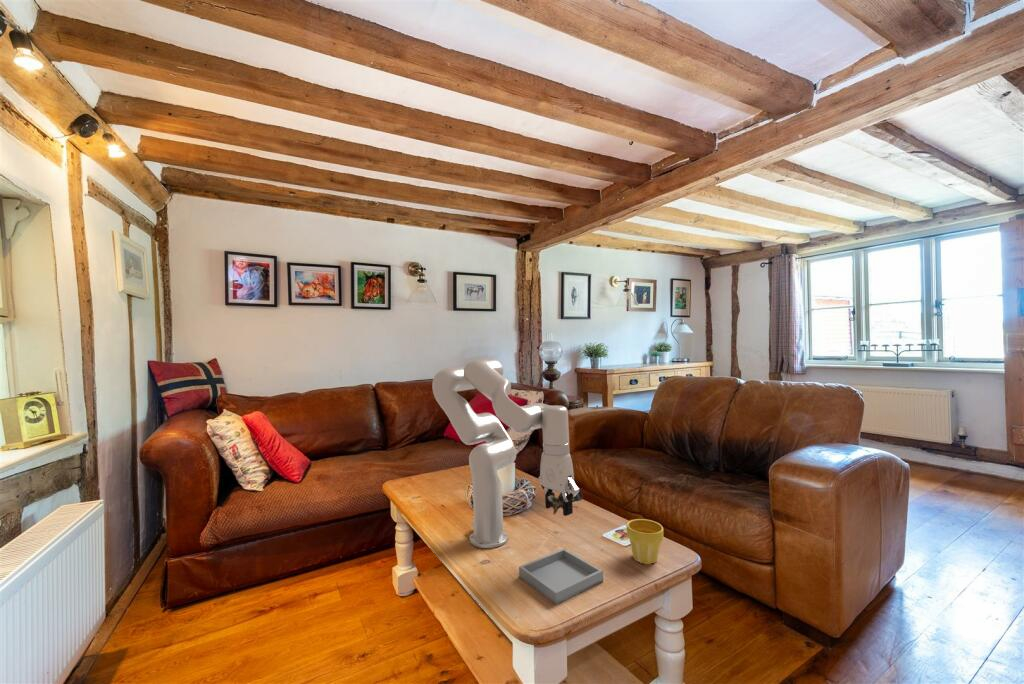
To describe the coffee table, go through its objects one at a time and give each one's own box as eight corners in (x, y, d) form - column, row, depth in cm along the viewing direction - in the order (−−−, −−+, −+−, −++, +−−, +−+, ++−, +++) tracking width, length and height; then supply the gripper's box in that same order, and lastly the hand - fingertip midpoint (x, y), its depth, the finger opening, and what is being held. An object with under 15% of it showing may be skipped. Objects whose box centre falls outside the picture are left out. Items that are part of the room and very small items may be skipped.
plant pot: (656, 549, 134) (655, 517, 134) (669, 567, 123) (668, 532, 123) (623, 550, 133) (622, 519, 133) (633, 568, 123) (632, 534, 123)
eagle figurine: (566, 516, 120) (588, 502, 126) (553, 493, 123) (575, 480, 128) (553, 523, 126) (575, 509, 131) (541, 500, 128) (563, 487, 134)
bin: (519, 577, 120) (518, 566, 120) (564, 558, 130) (564, 548, 130) (556, 605, 107) (556, 593, 107) (603, 581, 117) (603, 570, 117)
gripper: (527, 446, 130) (529, 505, 130) (568, 457, 117) (571, 523, 117) (546, 442, 135) (548, 499, 135) (587, 451, 121) (590, 516, 121)
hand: (558, 510), depth 126 cm, fingers closed on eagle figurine, 6 cm apart
